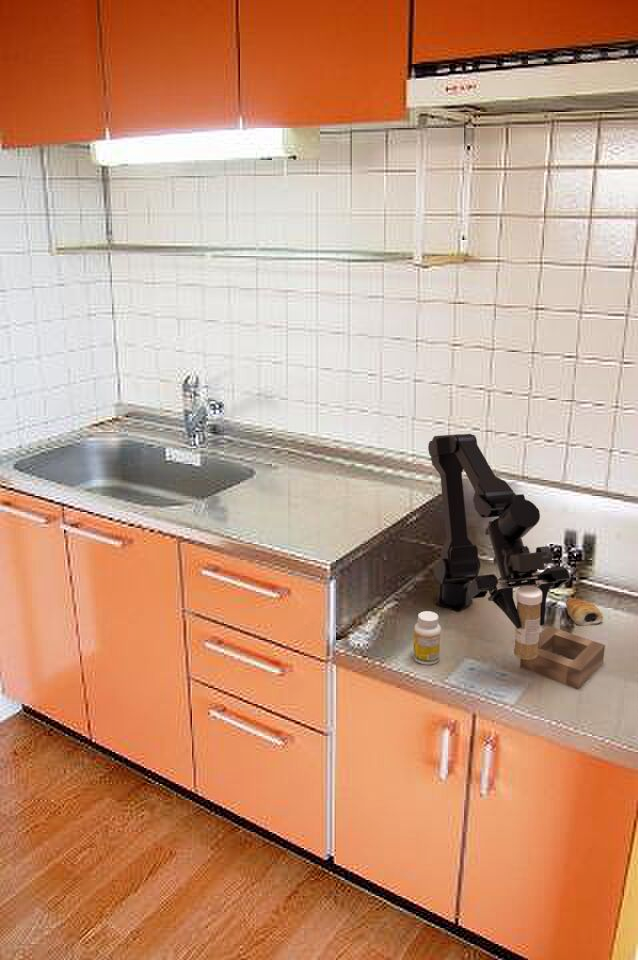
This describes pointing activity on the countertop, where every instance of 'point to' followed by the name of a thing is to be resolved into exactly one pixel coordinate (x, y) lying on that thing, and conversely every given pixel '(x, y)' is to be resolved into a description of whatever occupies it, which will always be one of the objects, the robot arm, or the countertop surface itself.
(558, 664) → the socket block
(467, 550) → the robot arm
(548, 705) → the countertop surface
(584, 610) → the pastry
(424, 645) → the supplement bottle
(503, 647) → the countertop surface
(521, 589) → the sprinkles bottle
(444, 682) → the countertop surface
